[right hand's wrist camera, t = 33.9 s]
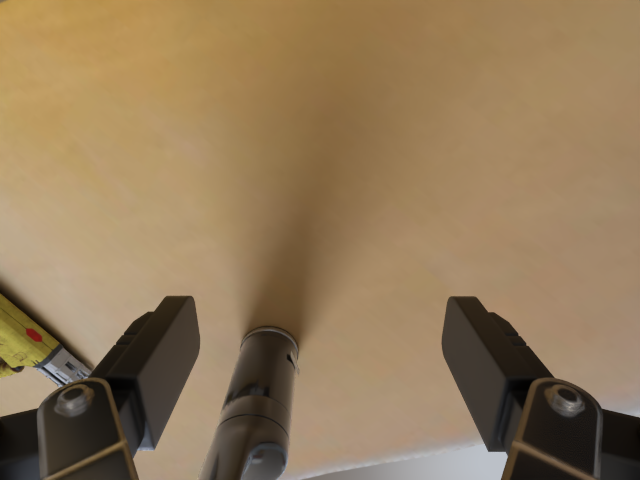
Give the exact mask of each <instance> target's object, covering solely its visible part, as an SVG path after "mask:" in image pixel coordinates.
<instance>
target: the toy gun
mask: <svg viewBox="0 0 640 480" xmlns="http://www.w3.org/2000/svg"><path fill="white" fill-rule="evenodd" d="M0 357H1V358H2V359H3V360H4V361H5V362H2V363H0V378H1V377H6V376H9V375H12V374H15V373H18V372H21V371H22V370H23V369H24V366H30V367H35V368H37V370H38V371H40V372H41V373H43V374H44V375H45V376H46V377H47V378H50V379H51V380H52V381H53V382H55V383H56V384H57V385H58V387H62V386H64V385H66V384H68V383H71V382H73V381H76V380H80V379H84V378H88V377H89V375H90V374H91V373H92V372H91V371H90V370H89V369H87V368H86V367H85V366H83V364H82V363H80V362H79V361H78V360H77V359H75V358H74V357H73V356H72V354H70V353H69V352H67V351H66V350H65V349H64V348H63V345H62V344H60V343H59V342H58V341H57V340H55V339H54V338H53V337H52V336H51V335H49V334H48V333H47V332H46V331H45V330H43V329H42V328H41V327H40V326H39V325H37V324H36V323H35V322H34V321H33V320H31V319H30V318H29V317H28V316H27V315H25V314H24V313H23V312H22V311H21V310H19V309H18V308H17V307H16V306H15V305H13V304H12V303H11V302H10V301H9V300H7V299H6V298H5V297H4V296H3V295H2V294H0ZM83 372H84V373H86V374H87V375H86V374H84V373H83Z"/></svg>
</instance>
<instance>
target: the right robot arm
mask: <svg viewBox="0 0 640 480" xmlns="http://www.w3.org/2000/svg"><path fill="white" fill-rule="evenodd" d="M199 349H200V334H199V327H198V321H197V314H196V307H195V301H194V298H193V297H192V296H166V297H165V298H164V299H163V301H162V302H161V303H160V305H159V306H158V307H157V308H156V310H155V311H154V312H147V313H146V314H144V315H143V316H141V317H140V318H138V319H137V320H135V321H133V323H132V324H131V325H130V326H129V328H128V329H127V330H126V331H125V332H124V335H122V336H121V337H120V339H119V340H118V341H117V342H116V345H114V346H113V347H112V348H111V350H110V351H109V352H108V353H107V355H106V356H105V357H104V358H103V359H102V361H101V362H100V363H99V364H98V366H97V367H96V368H95V369H94V370H93V372H92V373H91V374H90V375H89V377H88V378H84V379H80V380H76V381H73V382H71V383H68V384H66V385H64V386H62V387H60V388H58V389H57V390H55V391H54V392H53V393H51V394H50V395H49V396H48V397H47V398H46V399H45V400H44V401H43V402H42V403H41V405H40V406H39V408H37V409H33V410H29V411H24V412H20V413H16V414H11V415H7V416H3V417H0V480H139V478H138V475H137V471H136V468H135V465H134V461H133V458H134V456H135V454H136V452H137V450H155V448H156V445H157V443H158V441H159V439H160V437H161V435H162V433H163V430H164V428H165V426H166V424H167V422H168V420H169V417H170V415H171V413H172V411H173V409H174V407H175V405H176V402H177V400H178V398H179V396H180V394H181V392H182V389H183V387H184V385H185V383H186V381H187V379H188V376H189V374H190V372H191V370H192V368H193V366H194V364H195V361H196V359H197V357H198V354H199ZM442 351H443V355H444V358H445V360H446V362H447V365H448V367H449V369H450V371H451V373H452V375H453V377H454V379H455V382H456V384H457V386H458V388H459V390H460V392H461V394H462V396H463V399H464V401H465V403H466V405H467V407H468V409H469V411H470V414H471V416H472V418H473V420H474V422H475V424H476V426H477V428H478V431H479V433H480V435H481V437H482V439H483V441H484V443H485V445H486V448H487V450H488V452H506V453H507V455H508V458H507V462H506V465H505V468H504V471H503V475H502V478H501V480H640V418H639V417H635V416H631V415H626V414H622V413H618V412H613V411H609V410H605V409H602V408H601V406H600V405H599V403H598V402H597V401H596V400H595V399H594V398H593V397H592V396H591V395H590V394H589V393H587V392H586V391H585V390H583V389H582V388H580V387H578V386H576V385H574V384H572V383H569V382H567V381H564V380H560V379H556V378H554V376H553V375H552V374H551V373H550V372H549V370H548V369H547V368H546V367H545V366H544V364H543V363H542V362H541V361H540V359H539V358H538V357H537V356H536V355H535V353H534V352H533V351H532V350H531V349H530V347H529V346H526V342H525V341H524V340H523V339H522V338H521V336H518V333H517V332H516V330H515V329H514V328H513V327H512V325H511V324H510V323H509V322H508V321H506V320H505V319H503V318H502V317H500V316H499V315H497V314H496V313H494V312H488V311H487V310H486V309H485V308H484V306H483V305H482V304H481V302H480V301H479V300H478V299H477V297H474V296H451V297H449V299H448V302H447V307H446V314H445V320H444V327H443V334H442ZM297 359H298V346H297V343H296V341H295V340H294V338H293V337H292V336H291V335H290V334H289V333H287V332H286V331H284V330H282V329H279V328H276V327H261V328H257V329H255V330H253V331H251V332H250V333H248V334H247V335H246V336H245V338H244V339H243V341H242V344H241V347H240V353H239V356H238V359H237V362H236V365H235V368H234V372H233V375H232V378H231V381H230V385H229V388H228V391H227V394H226V397H225V401H224V404H223V407H222V410H221V414H220V417H219V420H218V424H217V427H216V430H215V433H214V437H213V440H212V443H211V446H210V448H209V450H208V453H207V455H206V457H205V460H204V462H203V465H202V467H201V470H200V473H199V476H198V479H197V480H277V479H278V478H279V477H281V475H282V474H283V473H284V471H285V469H286V466H287V463H288V457H289V445H290V434H291V421H292V410H293V398H294V387H295V375H296V371H297V373H298V376H299V368H298V366H297Z"/></svg>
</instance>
